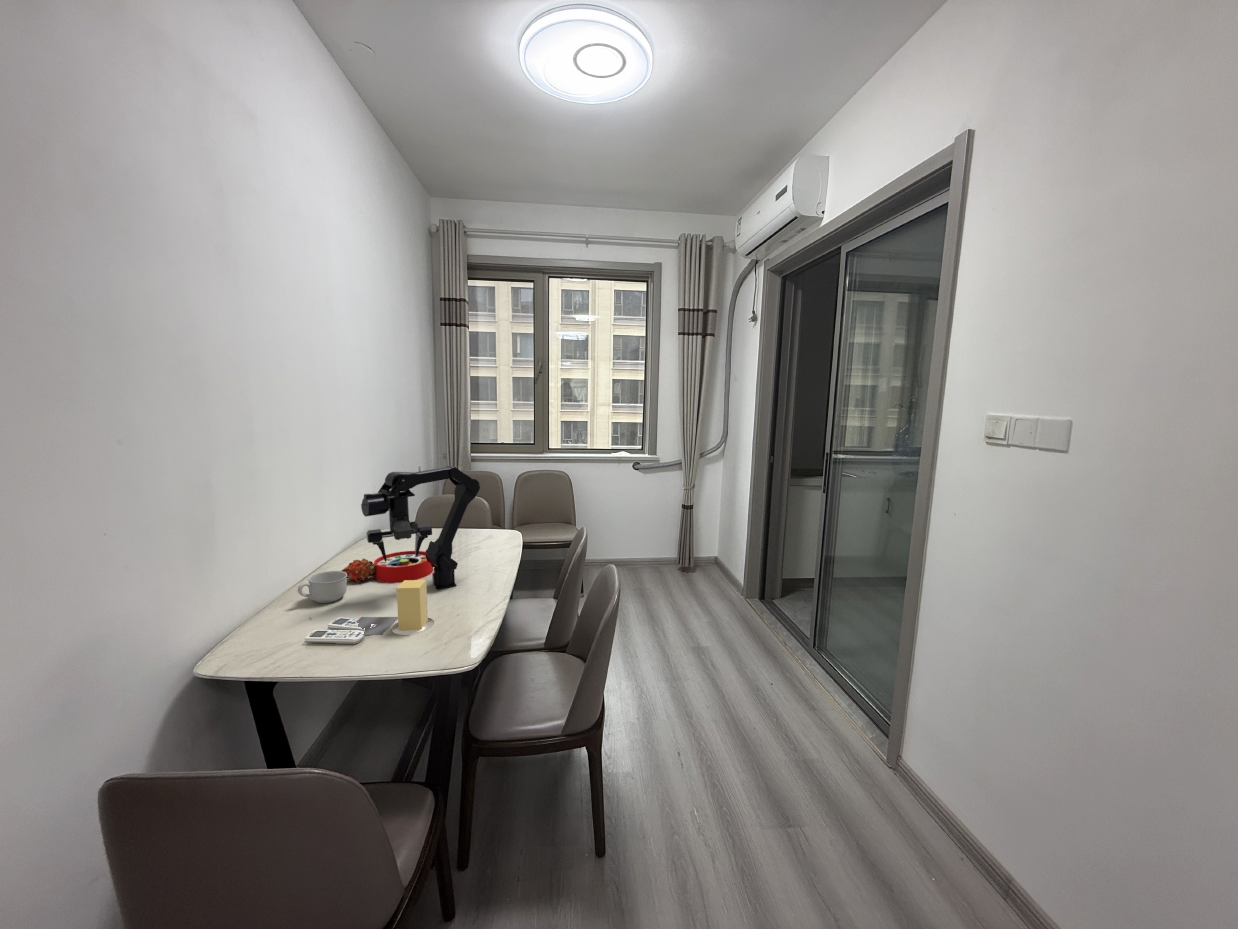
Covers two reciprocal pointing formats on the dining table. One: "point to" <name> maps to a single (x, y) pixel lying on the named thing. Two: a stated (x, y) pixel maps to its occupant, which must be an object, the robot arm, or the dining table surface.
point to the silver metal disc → (408, 632)
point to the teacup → (325, 586)
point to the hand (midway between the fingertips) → (401, 558)
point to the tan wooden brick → (412, 605)
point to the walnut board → (380, 628)
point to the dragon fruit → (360, 570)
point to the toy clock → (402, 567)
